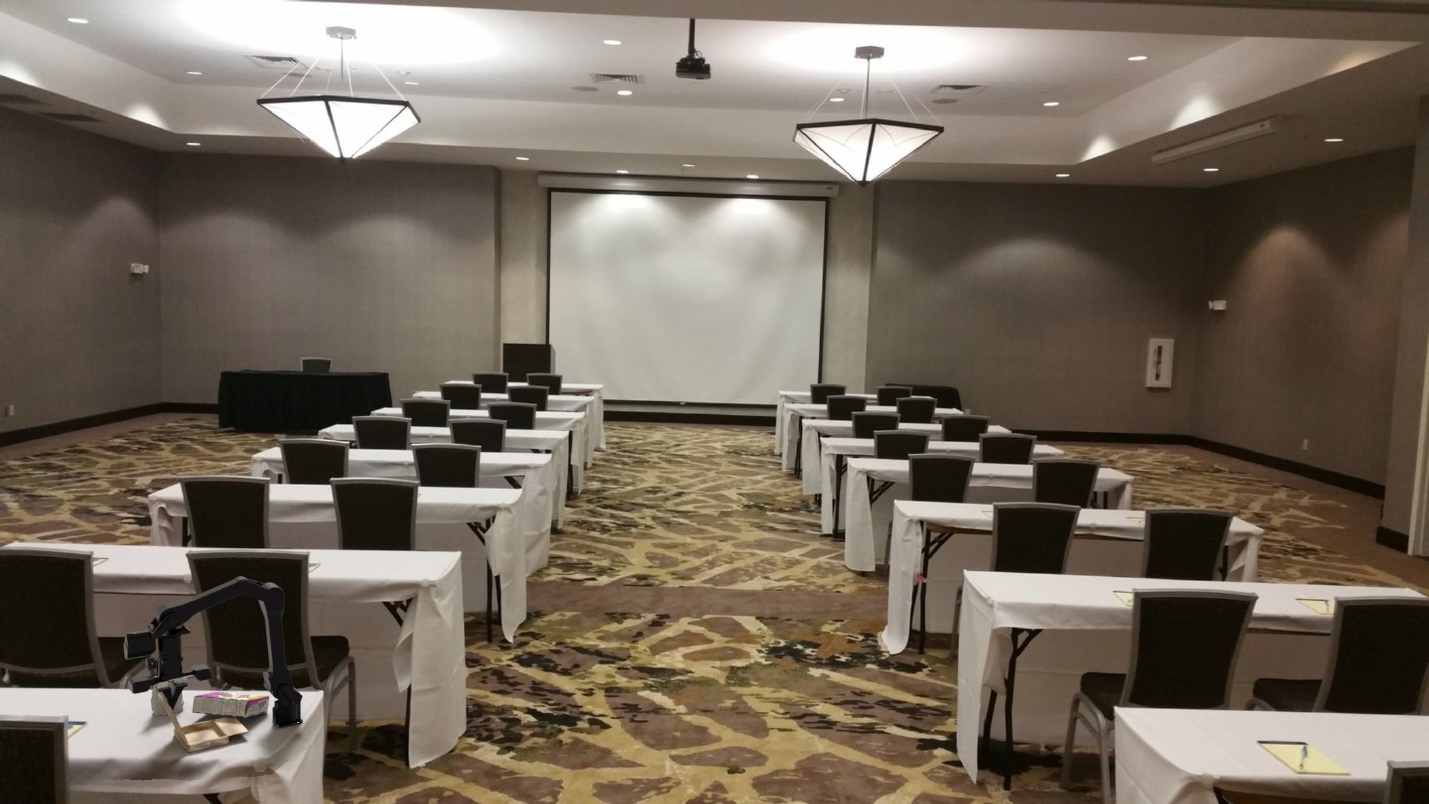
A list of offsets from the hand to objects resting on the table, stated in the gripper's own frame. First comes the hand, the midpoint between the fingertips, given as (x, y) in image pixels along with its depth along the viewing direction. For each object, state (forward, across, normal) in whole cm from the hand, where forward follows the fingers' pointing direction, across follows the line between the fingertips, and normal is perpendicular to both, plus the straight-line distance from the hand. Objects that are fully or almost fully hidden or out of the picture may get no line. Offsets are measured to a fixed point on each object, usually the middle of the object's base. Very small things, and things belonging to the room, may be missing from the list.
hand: (171, 710), depth 270 cm
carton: (+10, -10, 0) cm, 14 cm away
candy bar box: (+6, -12, -18) cm, 23 cm away
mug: (+10, -4, -26) cm, 28 cm away
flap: (+7, -2, 0) cm, 8 cm away
